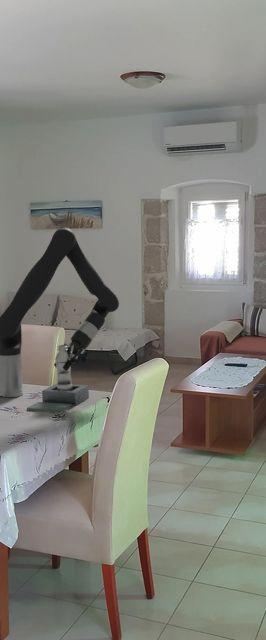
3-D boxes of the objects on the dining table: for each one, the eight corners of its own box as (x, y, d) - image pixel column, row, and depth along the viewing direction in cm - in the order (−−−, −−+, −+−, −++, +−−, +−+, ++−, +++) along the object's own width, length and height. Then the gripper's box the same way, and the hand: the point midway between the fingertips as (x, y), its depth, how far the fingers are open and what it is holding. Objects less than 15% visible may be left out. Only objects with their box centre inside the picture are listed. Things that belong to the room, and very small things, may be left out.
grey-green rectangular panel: (26, 410, 242) (26, 407, 242) (37, 404, 251) (37, 402, 251) (60, 412, 238) (60, 410, 238) (71, 406, 246) (71, 404, 246)
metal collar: (42, 403, 252) (42, 390, 252) (57, 395, 264) (56, 383, 264) (75, 405, 248) (75, 392, 247) (88, 397, 260) (88, 385, 259)
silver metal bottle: (74, 393, 260) (72, 344, 257) (71, 397, 253) (69, 347, 250) (58, 393, 260) (56, 344, 258) (55, 397, 254) (52, 347, 251)
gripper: (69, 327, 263) (45, 359, 258) (88, 331, 252) (63, 365, 247) (81, 338, 267) (57, 371, 262) (100, 342, 256) (75, 376, 250)
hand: (60, 367), depth 254 cm, fingers closed on silver metal bottle, 6 cm apart
